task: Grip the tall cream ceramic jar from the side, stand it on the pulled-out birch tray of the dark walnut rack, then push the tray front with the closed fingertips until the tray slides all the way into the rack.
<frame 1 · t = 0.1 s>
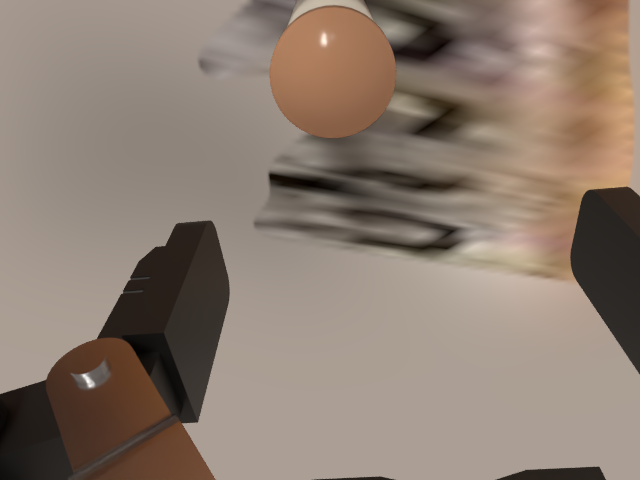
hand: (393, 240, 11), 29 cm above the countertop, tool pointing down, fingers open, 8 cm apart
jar: (330, 20, 35), on the countertop
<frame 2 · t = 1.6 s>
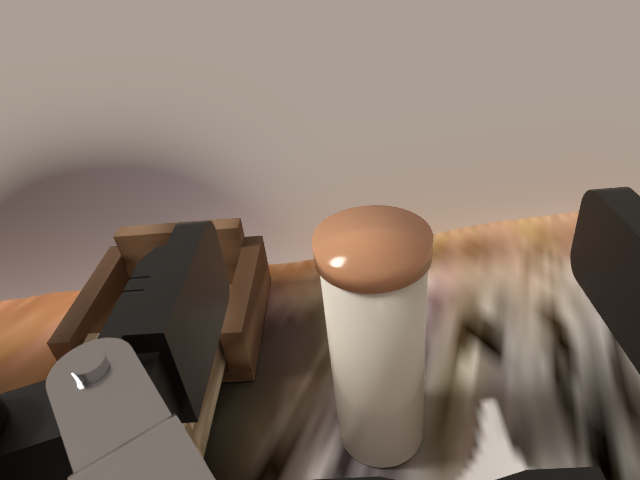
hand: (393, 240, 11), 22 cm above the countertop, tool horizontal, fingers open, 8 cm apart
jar: (380, 428, 32), on the countertop
tray: (129, 395, 32), point 4 cm above the countertop, slide at 8.0 cm
rack: (182, 329, 42), on the countertop
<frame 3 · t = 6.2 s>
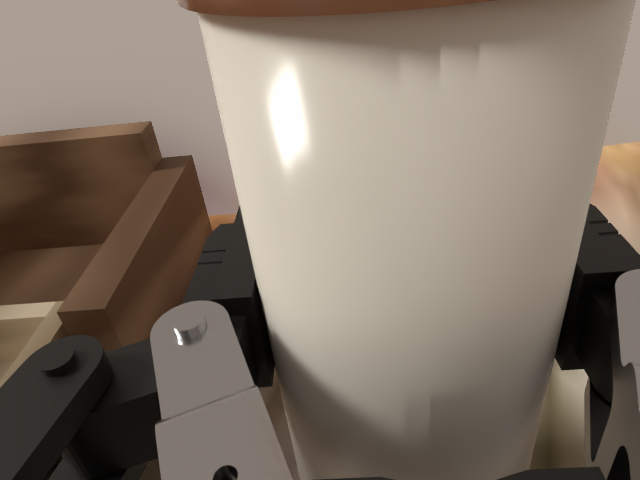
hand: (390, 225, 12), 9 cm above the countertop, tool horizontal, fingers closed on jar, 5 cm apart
rack: (47, 314, 24), on the countertop
when the fingers open (12 cm above the countertop, at t = 10.1 s): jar drops 1 cm, resting on tray.
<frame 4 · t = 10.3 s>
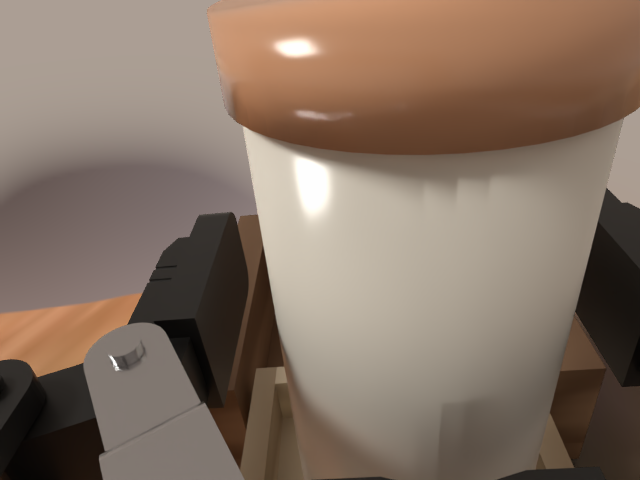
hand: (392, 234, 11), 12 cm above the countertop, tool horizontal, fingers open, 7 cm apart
rack: (381, 353, 24), on the countertop
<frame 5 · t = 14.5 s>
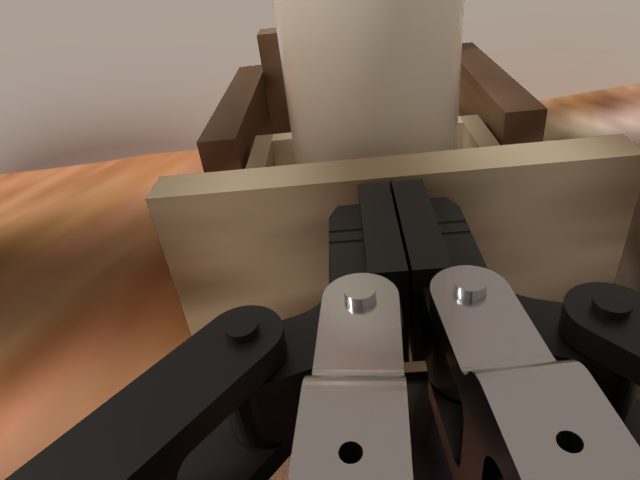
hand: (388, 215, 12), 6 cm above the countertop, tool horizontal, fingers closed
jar: (378, 231, 19), point 2 cm above the countertop, touching tray
tray: (375, 190, 18), point 4 cm above the countertop, slide at 7.2 cm, touching gripper, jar
rack: (365, 173, 28), on the countertop
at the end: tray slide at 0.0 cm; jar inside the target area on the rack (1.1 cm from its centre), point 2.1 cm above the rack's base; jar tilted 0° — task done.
